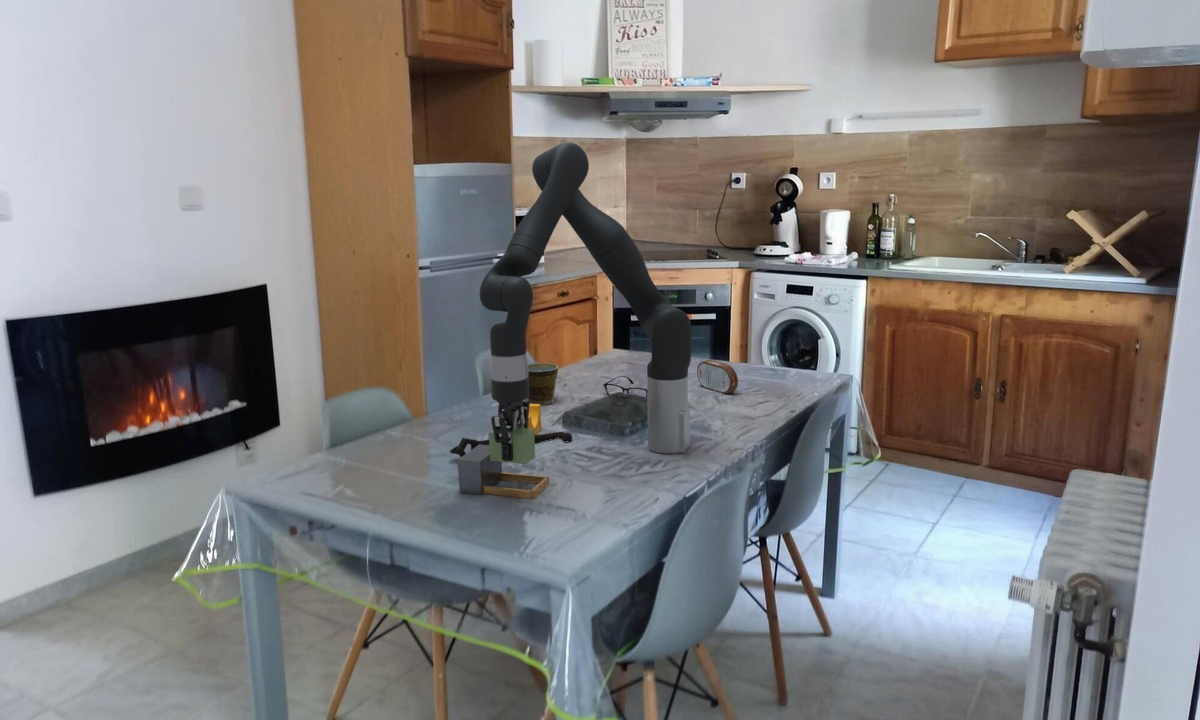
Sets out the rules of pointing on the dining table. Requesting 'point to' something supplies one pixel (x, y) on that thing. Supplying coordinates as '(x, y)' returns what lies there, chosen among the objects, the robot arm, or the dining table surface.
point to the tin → (717, 376)
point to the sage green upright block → (515, 446)
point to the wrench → (474, 443)
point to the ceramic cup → (542, 382)
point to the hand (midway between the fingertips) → (512, 456)
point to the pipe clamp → (534, 418)
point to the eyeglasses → (622, 387)
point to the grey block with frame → (492, 476)
